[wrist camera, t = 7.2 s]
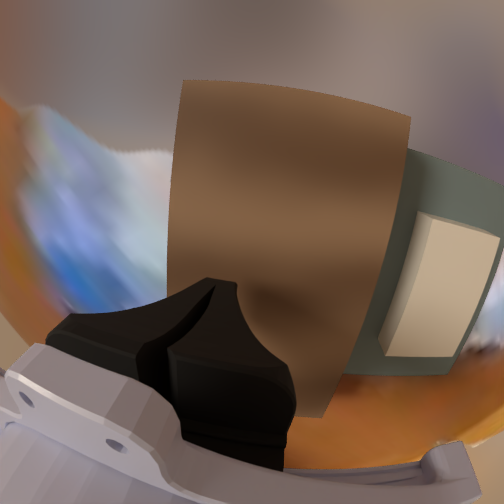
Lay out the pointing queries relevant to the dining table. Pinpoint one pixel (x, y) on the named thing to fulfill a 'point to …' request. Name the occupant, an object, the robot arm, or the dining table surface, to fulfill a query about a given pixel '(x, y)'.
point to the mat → (410, 201)
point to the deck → (286, 215)
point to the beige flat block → (437, 287)
